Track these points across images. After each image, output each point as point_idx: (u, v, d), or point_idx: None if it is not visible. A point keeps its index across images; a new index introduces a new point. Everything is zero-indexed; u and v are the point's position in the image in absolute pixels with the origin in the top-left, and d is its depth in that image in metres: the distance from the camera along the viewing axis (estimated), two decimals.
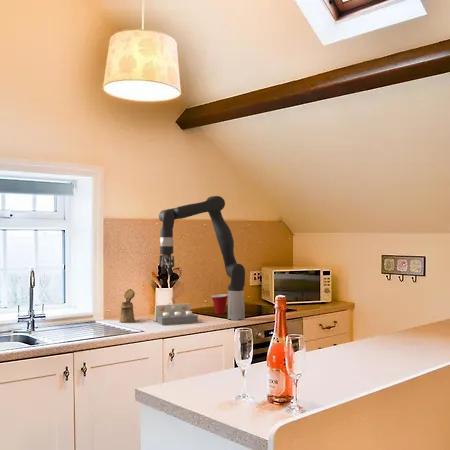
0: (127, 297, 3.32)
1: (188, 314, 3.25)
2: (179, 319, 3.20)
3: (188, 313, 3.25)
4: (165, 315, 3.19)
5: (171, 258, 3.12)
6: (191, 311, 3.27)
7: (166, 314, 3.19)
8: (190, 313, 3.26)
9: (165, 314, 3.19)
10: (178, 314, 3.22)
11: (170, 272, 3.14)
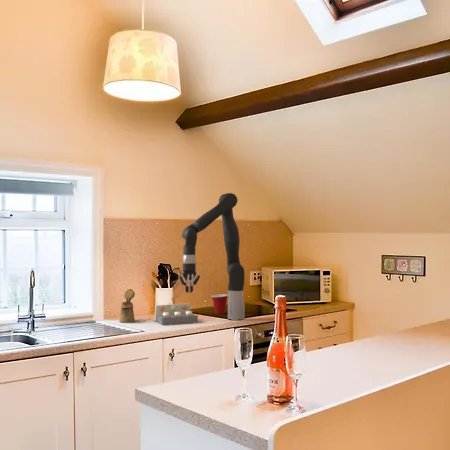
0: (127, 297, 3.32)
1: (188, 314, 3.25)
2: (179, 319, 3.20)
3: (188, 313, 3.25)
4: (165, 315, 3.19)
5: None
6: (191, 311, 3.27)
7: (166, 314, 3.19)
8: (190, 313, 3.26)
9: (165, 314, 3.19)
10: (178, 314, 3.22)
11: None
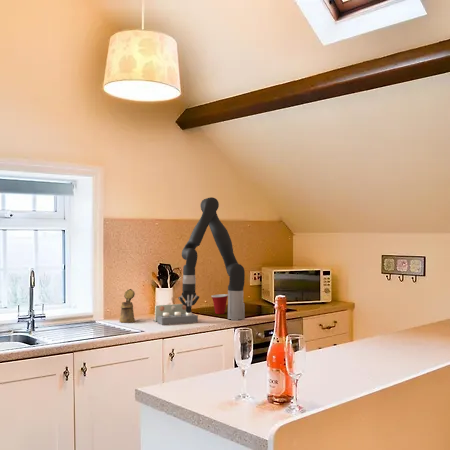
0: (127, 297, 3.32)
1: (188, 315, 3.25)
2: (179, 319, 3.20)
3: (188, 314, 3.25)
4: (165, 315, 3.19)
5: None
6: (191, 312, 3.27)
7: (166, 314, 3.19)
8: (190, 314, 3.26)
9: (165, 314, 3.19)
10: (178, 314, 3.22)
11: None
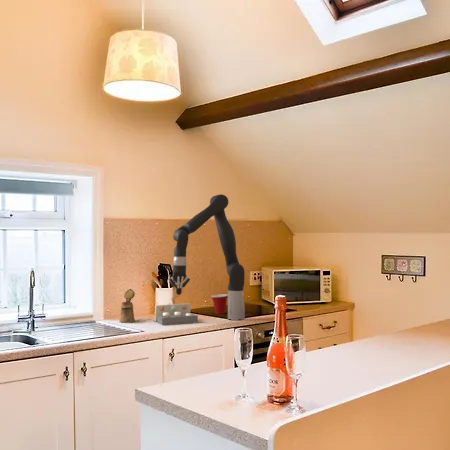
0: (127, 297, 3.32)
1: None
2: (179, 319, 3.20)
3: (188, 315, 3.25)
4: (165, 315, 3.19)
5: None
6: None
7: (166, 314, 3.19)
8: (190, 315, 3.26)
9: (165, 314, 3.19)
10: (178, 314, 3.22)
11: None
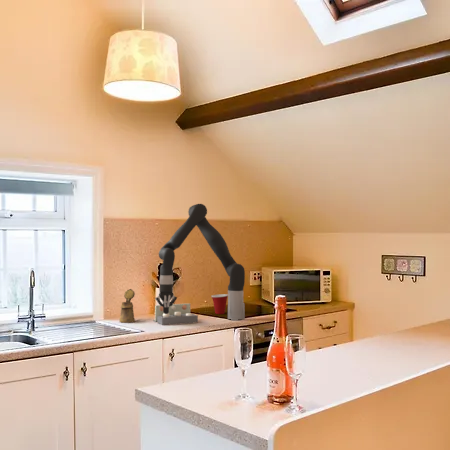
0: (127, 297, 3.32)
1: None
2: (179, 319, 3.20)
3: (188, 315, 3.25)
4: (165, 316, 3.19)
5: None
6: None
7: (166, 315, 3.19)
8: (190, 315, 3.26)
9: (165, 315, 3.19)
10: (178, 314, 3.22)
11: None
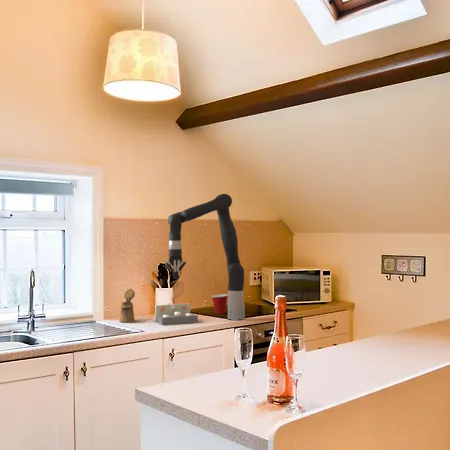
0: (127, 297, 3.32)
1: None
2: (179, 319, 3.20)
3: (188, 315, 3.25)
4: None
5: None
6: None
7: None
8: (190, 315, 3.26)
9: (165, 316, 3.19)
10: (178, 314, 3.22)
11: None
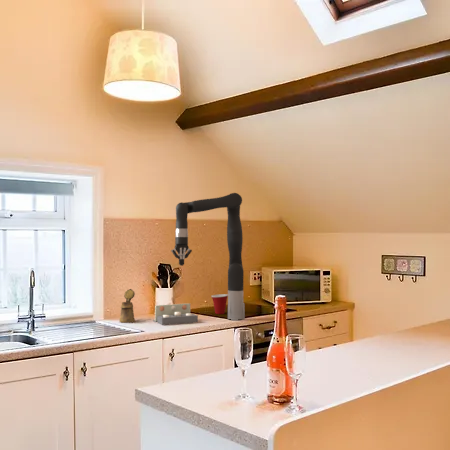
0: (127, 297, 3.32)
1: None
2: (179, 319, 3.20)
3: (188, 315, 3.25)
4: None
5: None
6: None
7: None
8: (190, 315, 3.26)
9: (165, 316, 3.19)
10: (178, 314, 3.22)
11: None
